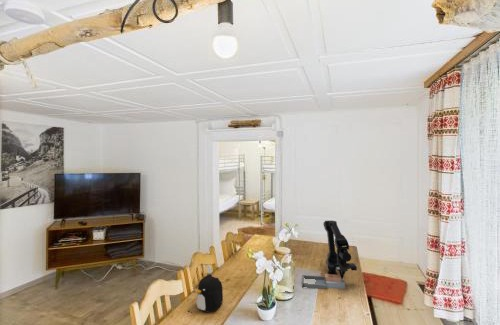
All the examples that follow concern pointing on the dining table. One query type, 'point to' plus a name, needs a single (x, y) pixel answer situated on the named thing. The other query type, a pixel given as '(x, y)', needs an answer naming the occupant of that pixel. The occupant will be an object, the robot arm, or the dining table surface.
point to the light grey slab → (335, 284)
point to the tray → (318, 284)
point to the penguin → (209, 293)
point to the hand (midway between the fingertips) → (341, 278)
